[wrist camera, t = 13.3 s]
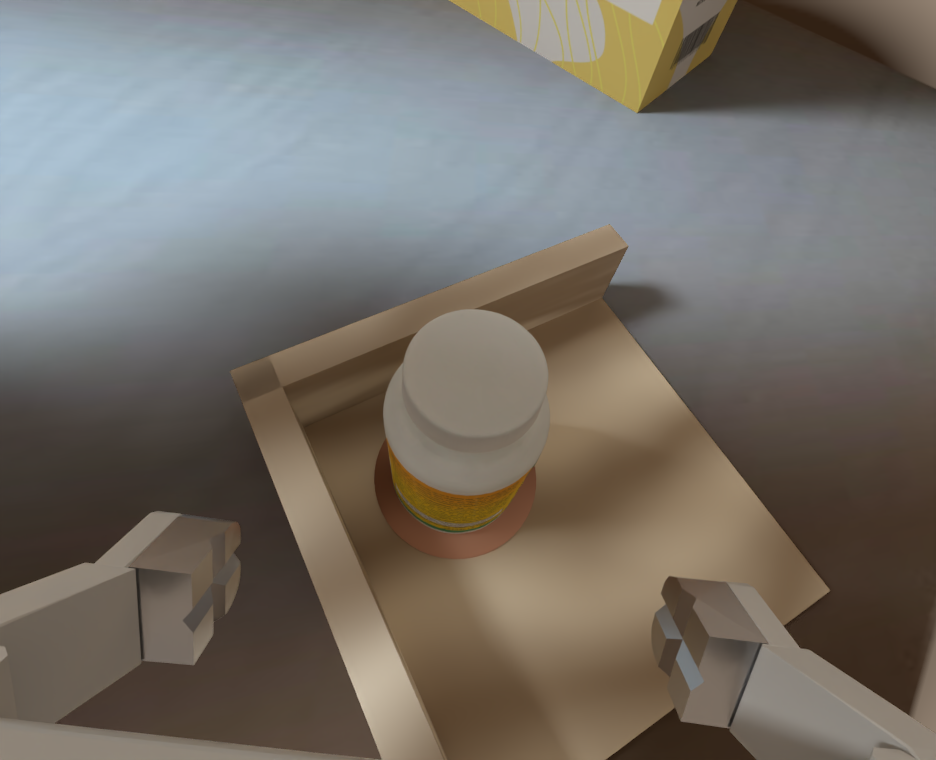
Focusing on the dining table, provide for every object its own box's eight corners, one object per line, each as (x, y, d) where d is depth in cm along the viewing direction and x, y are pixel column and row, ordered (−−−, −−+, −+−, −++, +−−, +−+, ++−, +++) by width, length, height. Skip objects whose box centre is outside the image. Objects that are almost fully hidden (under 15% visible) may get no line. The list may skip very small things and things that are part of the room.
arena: (261, 418, 24) (229, 370, 20) (583, 283, 29) (609, 224, 25) (445, 873, 17) (453, 940, 13) (822, 591, 22) (910, 578, 18)
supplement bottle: (389, 421, 23) (371, 290, 15) (506, 412, 24) (553, 281, 16) (396, 544, 21) (380, 471, 13) (526, 530, 22) (593, 451, 13)
